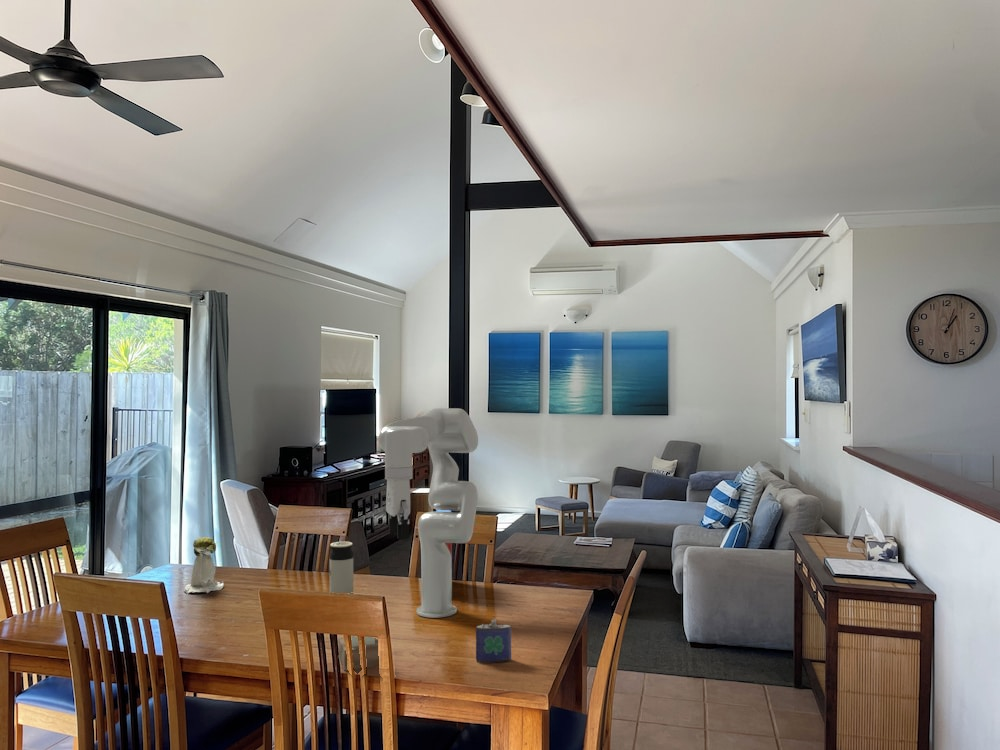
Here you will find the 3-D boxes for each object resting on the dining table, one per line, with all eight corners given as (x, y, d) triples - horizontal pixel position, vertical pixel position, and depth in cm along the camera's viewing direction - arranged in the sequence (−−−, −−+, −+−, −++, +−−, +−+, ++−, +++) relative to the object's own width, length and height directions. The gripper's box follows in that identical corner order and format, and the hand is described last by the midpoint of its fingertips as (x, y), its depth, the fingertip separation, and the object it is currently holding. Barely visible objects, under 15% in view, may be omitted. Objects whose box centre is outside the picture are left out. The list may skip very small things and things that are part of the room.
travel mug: (356, 593, 257) (356, 541, 258) (349, 600, 249) (349, 546, 250) (334, 593, 258) (333, 541, 258) (326, 599, 250) (326, 545, 250)
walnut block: (338, 657, 196) (338, 638, 196) (376, 652, 200) (376, 633, 200) (344, 670, 187) (344, 650, 187) (384, 665, 190) (383, 645, 190)
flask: (510, 658, 194) (510, 617, 194) (512, 662, 191) (511, 620, 192) (475, 659, 193) (475, 618, 194) (476, 664, 191) (475, 622, 191)
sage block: (347, 639, 195) (347, 616, 195) (370, 636, 197) (370, 613, 197) (351, 647, 189) (351, 623, 189) (374, 643, 192) (374, 620, 192)
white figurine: (176, 591, 262) (176, 539, 262) (206, 582, 273) (206, 532, 273) (199, 596, 256) (199, 542, 256) (229, 586, 267) (228, 535, 267)
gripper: (378, 470, 212) (379, 531, 211) (392, 477, 195) (392, 542, 195) (404, 469, 214) (405, 529, 214) (420, 476, 198) (420, 540, 198)
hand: (399, 535), depth 204 cm, fingers open, 9 cm apart
